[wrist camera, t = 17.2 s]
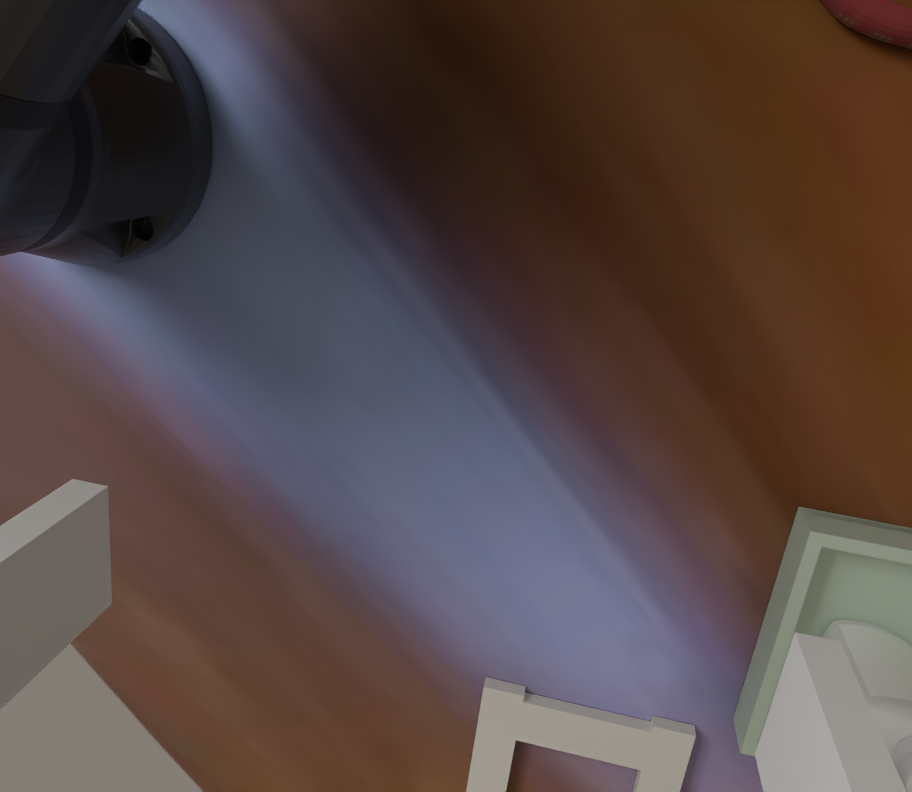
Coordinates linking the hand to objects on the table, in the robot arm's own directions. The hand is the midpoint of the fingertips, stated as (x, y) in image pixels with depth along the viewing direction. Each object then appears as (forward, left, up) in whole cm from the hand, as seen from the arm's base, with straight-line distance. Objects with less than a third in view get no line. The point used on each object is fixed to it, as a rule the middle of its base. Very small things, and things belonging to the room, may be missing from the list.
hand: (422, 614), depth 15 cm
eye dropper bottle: (+22, -18, -31) cm, 42 cm away
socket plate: (+7, -34, -32) cm, 47 cm away
